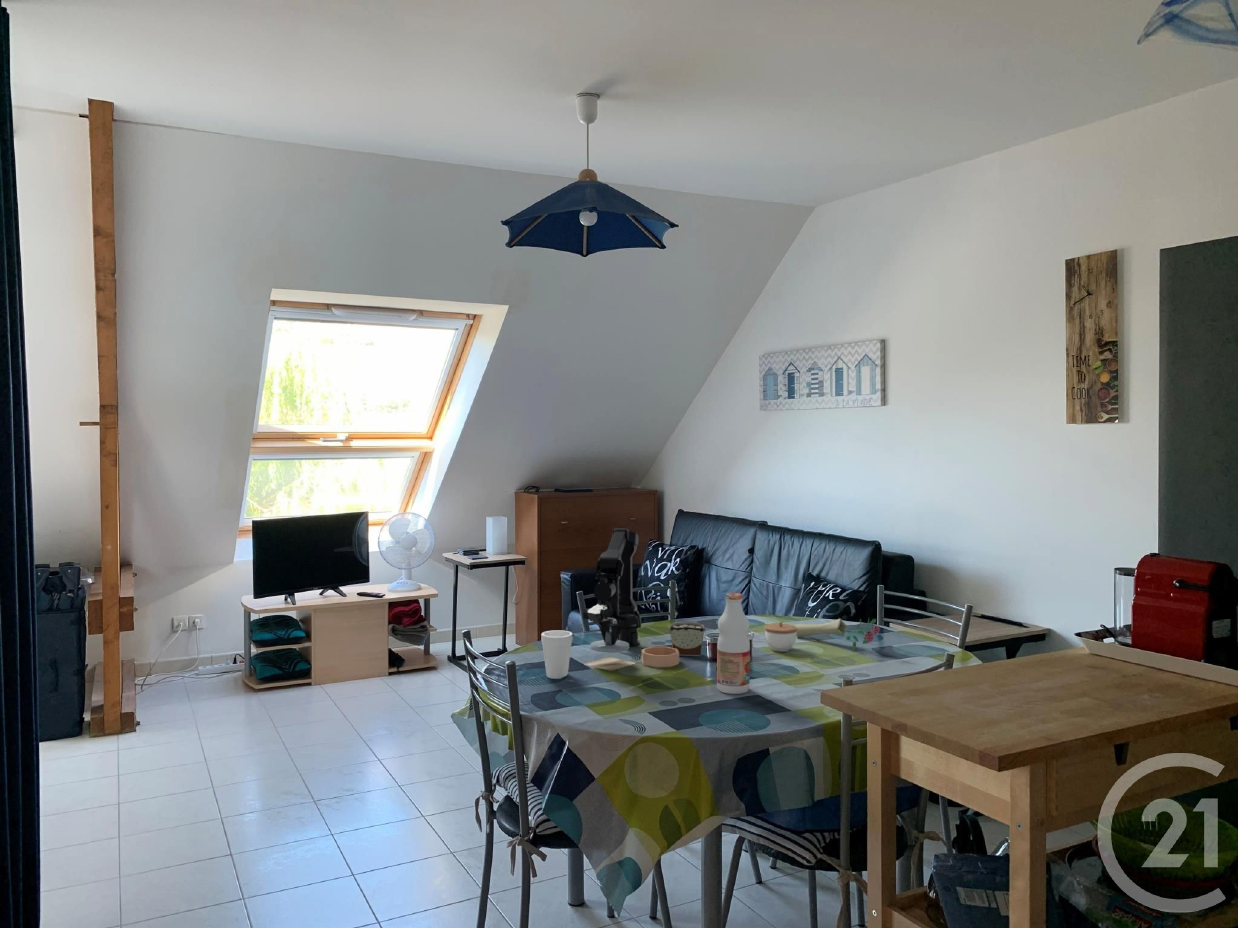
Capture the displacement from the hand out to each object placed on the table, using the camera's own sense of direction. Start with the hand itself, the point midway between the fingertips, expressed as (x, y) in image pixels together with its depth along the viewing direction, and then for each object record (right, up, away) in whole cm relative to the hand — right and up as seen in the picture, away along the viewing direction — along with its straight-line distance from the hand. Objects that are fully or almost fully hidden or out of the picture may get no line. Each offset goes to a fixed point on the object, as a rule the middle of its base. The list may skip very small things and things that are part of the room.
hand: (609, 643), depth 295 cm
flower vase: (+79, -6, +26) cm, 83 cm away
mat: (0, -7, 0) cm, 7 cm away
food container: (+26, -6, +15) cm, 31 cm away
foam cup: (-16, -8, -12) cm, 21 cm away
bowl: (+16, -7, +2) cm, 18 cm away
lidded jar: (+58, -6, +20) cm, 62 cm away
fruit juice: (+36, -9, -27) cm, 46 cm away
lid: (0, -1, 0) cm, 1 cm away
